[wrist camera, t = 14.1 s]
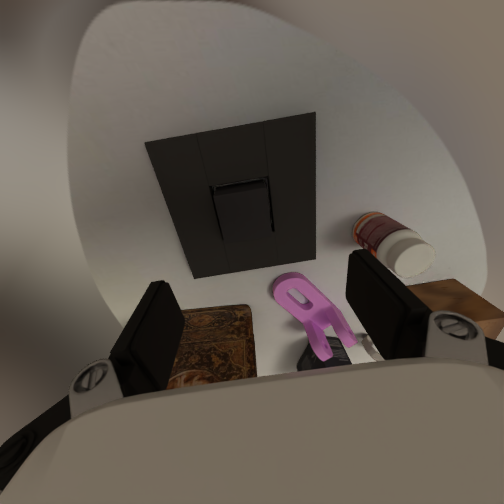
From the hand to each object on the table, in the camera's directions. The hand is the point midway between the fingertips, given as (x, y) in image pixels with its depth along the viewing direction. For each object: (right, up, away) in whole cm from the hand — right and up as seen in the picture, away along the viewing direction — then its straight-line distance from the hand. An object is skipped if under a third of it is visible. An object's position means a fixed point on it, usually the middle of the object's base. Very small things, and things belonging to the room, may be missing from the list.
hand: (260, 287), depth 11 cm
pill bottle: (+15, +5, +17) cm, 24 cm away
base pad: (-2, +8, +15) cm, 17 cm away
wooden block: (+28, -6, +25) cm, 38 cm away
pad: (-2, +7, +15) cm, 17 cm away
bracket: (+8, -6, +23) cm, 25 cm away
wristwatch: (+22, -14, +29) cm, 39 cm away
